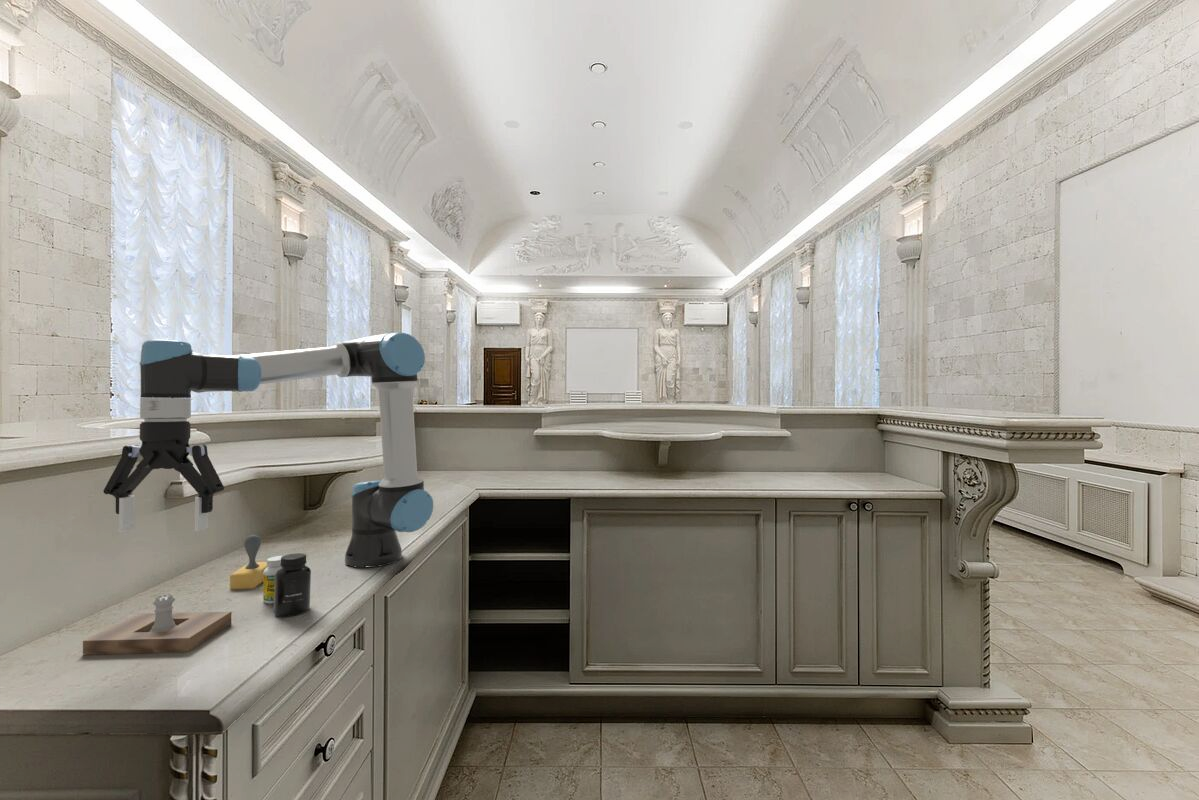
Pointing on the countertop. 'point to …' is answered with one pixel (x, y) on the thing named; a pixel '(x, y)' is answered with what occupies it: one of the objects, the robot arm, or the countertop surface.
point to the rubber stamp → (249, 567)
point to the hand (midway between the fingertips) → (164, 530)
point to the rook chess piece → (163, 614)
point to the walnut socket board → (157, 634)
